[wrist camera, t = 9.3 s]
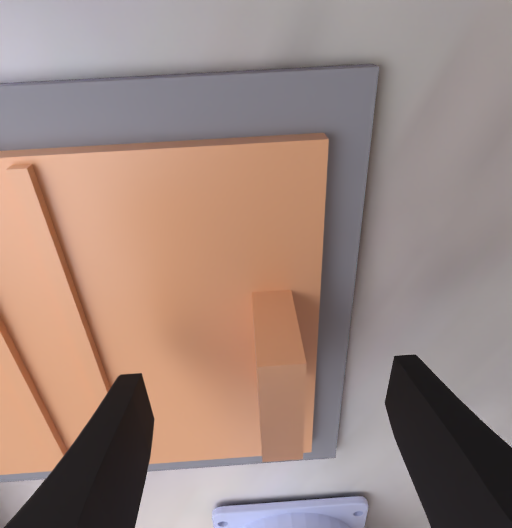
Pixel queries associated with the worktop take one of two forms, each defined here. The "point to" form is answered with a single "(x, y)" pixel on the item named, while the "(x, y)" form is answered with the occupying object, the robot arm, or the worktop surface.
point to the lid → (162, 293)
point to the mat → (230, 126)
